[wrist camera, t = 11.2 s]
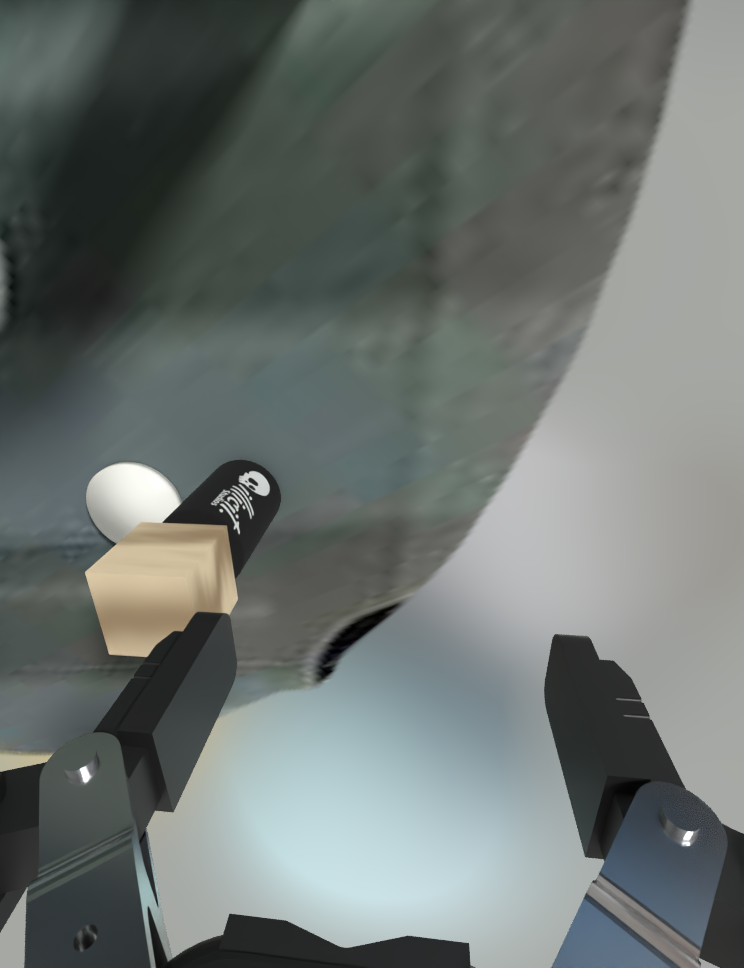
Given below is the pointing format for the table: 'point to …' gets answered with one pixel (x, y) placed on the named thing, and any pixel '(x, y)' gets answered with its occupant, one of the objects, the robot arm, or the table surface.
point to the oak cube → (160, 583)
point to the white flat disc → (129, 498)
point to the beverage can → (234, 506)
